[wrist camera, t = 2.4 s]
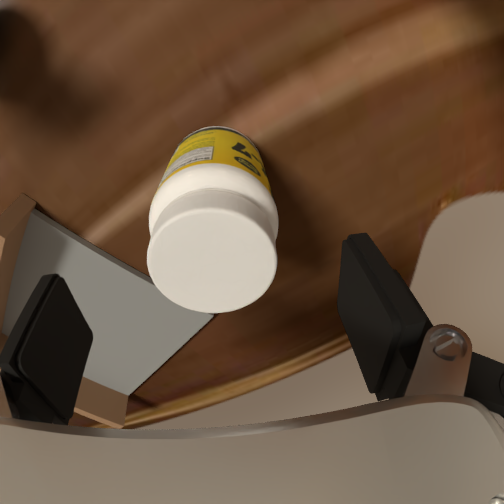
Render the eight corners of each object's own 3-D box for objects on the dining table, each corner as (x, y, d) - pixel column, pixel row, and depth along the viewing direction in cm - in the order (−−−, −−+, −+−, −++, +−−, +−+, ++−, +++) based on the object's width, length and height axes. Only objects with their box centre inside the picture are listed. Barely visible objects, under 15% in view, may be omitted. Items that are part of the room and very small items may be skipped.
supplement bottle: (276, 186, 17) (311, 293, 11) (199, 221, 18) (188, 338, 11) (237, 107, 15) (249, 167, 8) (154, 150, 16) (102, 242, 9)
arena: (22, 193, 16) (-11, 227, 13) (218, 306, 22) (218, 353, 19) (-7, 328, 23) (-23, 360, 19) (124, 395, 29) (119, 429, 26)
